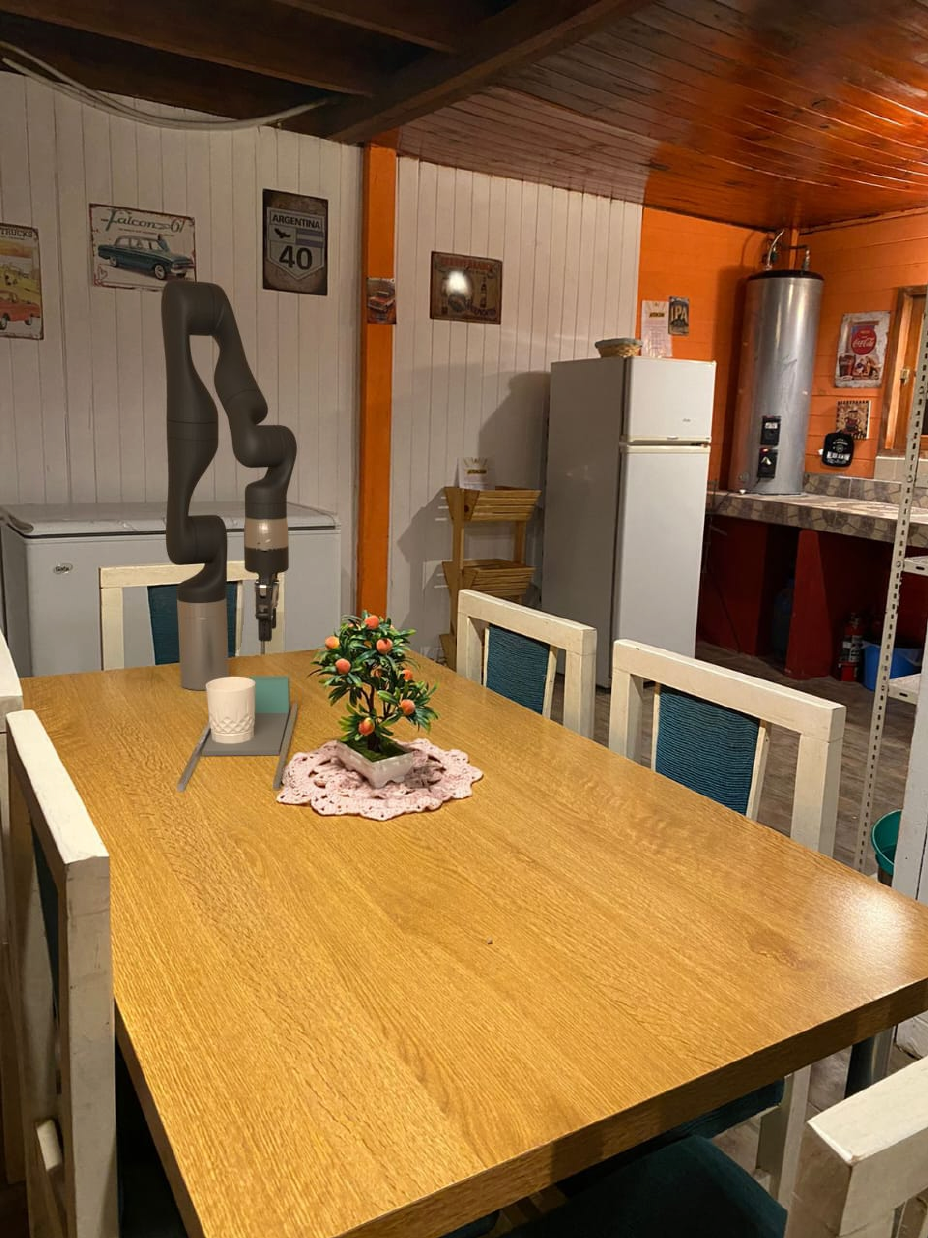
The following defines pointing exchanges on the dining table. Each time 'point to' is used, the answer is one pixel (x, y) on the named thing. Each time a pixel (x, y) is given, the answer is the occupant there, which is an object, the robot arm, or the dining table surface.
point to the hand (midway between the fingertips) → (267, 634)
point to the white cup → (231, 709)
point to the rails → (205, 736)
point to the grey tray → (261, 721)
